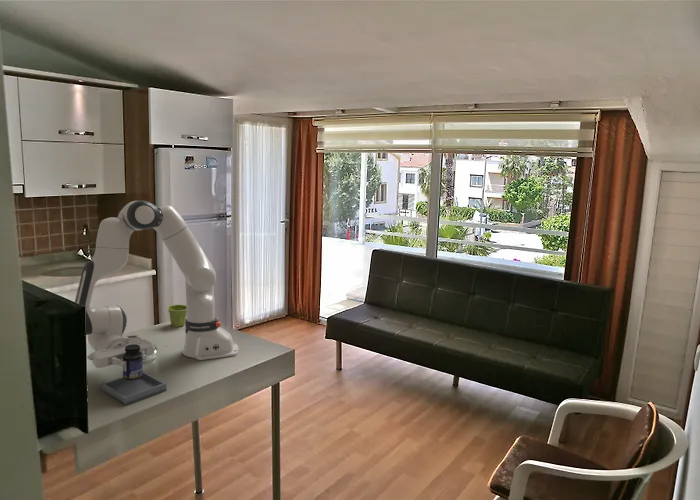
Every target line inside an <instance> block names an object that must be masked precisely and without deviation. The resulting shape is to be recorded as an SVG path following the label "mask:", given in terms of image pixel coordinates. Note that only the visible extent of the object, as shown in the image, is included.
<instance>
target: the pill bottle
mask: <svg viewBox="0 0 700 500" xmlns="http://www.w3.org/2000/svg"><path fill="white" fill-rule="evenodd" d="M125 351H126V353H125V354H124V355H123V359H124V360H125V365H123V366H122V377H123V378H124V379H125V380H137V379H140V378H141V377H142V371H143V360H142V353H141V352H139V351H140V346H139V345H136V344H132V345H127V346H126V347H125Z"/></svg>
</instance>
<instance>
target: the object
mask: <svg viewBox="0 0 700 500" xmlns="http://www.w3.org/2000/svg"><path fill="white" fill-rule="evenodd" d="M167 310H168V314H169V318H170V319H169V320H170V326H172V327H175V328H180V327H183V326H184V327H185V320H186V304H173V305H169V306H167Z"/></svg>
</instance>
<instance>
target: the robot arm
mask: <svg viewBox="0 0 700 500" xmlns="http://www.w3.org/2000/svg"><path fill="white" fill-rule="evenodd" d="M149 229H153V230H155V231H156V233H157V234H158V236H159V237H160V239H161V241H162V242H163V243H164V245H165V247H166V249H167V250H168V251H169V253H170V254H171V256H172V258H173V260H174V261H175V263H176V265H177V266H178V268H179V270H180V272H181V273H182V274H183V275H182V276H183V277H184V278H185V298H186V299H185V301H186V303H185V305H186V319H185V325H184V332H185V339H184V340H185V341H184V345H183V347H182V348H183V349H182V351H181V352H182V354H183V355H184V356H186V357H188V358H192V359H195V360H198V361H206V360H212V359H219V358H226V357H234V356H237V355H238V353H239V346H238V344H237V343H236V342H234V340H233V337H232V335H231V333H230V332H228V331H227V330H226V329H224V328H222V327H221V325H222V324H221V321H220V319H219V317H215V292H214V291H215V290H214V285H215V283H216V280H217V272H216V270H215V268H214V266H213V264H212V262H211V261H210V260H209V258H208V257H207V255H206V254H205V252H204V250H203V248H202V247H201V244H200V243H199V242H198V240H197V238H196V237H195V235H194V234H193V232H192V231H191V228H190V226H189V225H188V224H187V223H186V221H185V220H184V217H182V216H181V214H180V213H179V212H178V211H177V210H176V209H175V207H173V206H172V205H167V204H166V205H162V206H161V205H160V206H157V205H155V204H154V203H151V202H150V201H148V200H147V201H146V200H141V199H140V200H134V201H130V202H128V203H126V204H124V205H123V206H122V207H121V208H120V210H119V211H118V213H117V214H116V215H115V217H113V216H112V217H107V218H104V219H102V220H101V221H100V223H99V226H98V229H97V236H96V240H95V241H96V242H95V250H94V254H93V256H92V258H91V259H90V260H89V261H87V262H86V263H85V265H84V266H83V269H82V272H81V276H80V279H79V283H78V288H77V291H76V295H75V300H74V303H75V302H76V303H78V304H80V305H83V306H85V308H86V335H85V336H87V342H88V344H89V346H90V348H92V350H94V351H92V352H91V353H90V354H89V355H87V359H88V360H89V361H91V362H92V364H93V366H94V367H95V368H99V369H102V368H106V367H111V366H113V365H114V366H119V367H123V365H125V360H124V359H123V355H124V354H125V353H126V351H125V347H126V346H127V345H132V344H136V345H139V346H140V351H139V352H141V353H142V361H145V360H147V356H152V355H154V352H155V344H153V343H152V342H151V341H149V340H147V339H145V338H142V337H141V335H123V334H124V332H125V330H126V328H127V321H128V320H127V319H128V318H127V315H126V311H124V309H123V308H122V307H121V306H119V305H117V304H116V305H101V306H99V305H97V306H90V305H91V301H92V298H93V293H94V288H95V285H96V284H97V282H98V281H99V280H100V279H102V278H104V277H106V276H108V275H111V274H114V273H117V272H119V271H120V270H121V269H123V268H124V267H125V266H126V264H127V263H128V260H129V252H130V239H131V235H132V234H133V233H134V232H135V231H143V230H149Z"/></svg>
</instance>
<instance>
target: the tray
mask: <svg viewBox="0 0 700 500" xmlns="http://www.w3.org/2000/svg"><path fill="white" fill-rule="evenodd" d="M165 391H167V382H165V381H162V380H161V379H159V378H157V377H155V376H153V375H152V374H149V373H147V372H146V371H143V370H142V377H141V378H140V379H137V380H125V379H124V378H123V376H122V377H119V378H116V379H113V380H110V381H107V382H103V383H101V392H103V393H105V395H108V396H109V397H110V398H112V399H115V401H118V402H119V403H120V404H122V405H123V406H127V405H130V404H132V403H135V402H138V401H141V400H143V399H144V400H145V399H146V398H149V397H151V396H154V395H157V394H160V393H163V392H165Z"/></svg>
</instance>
